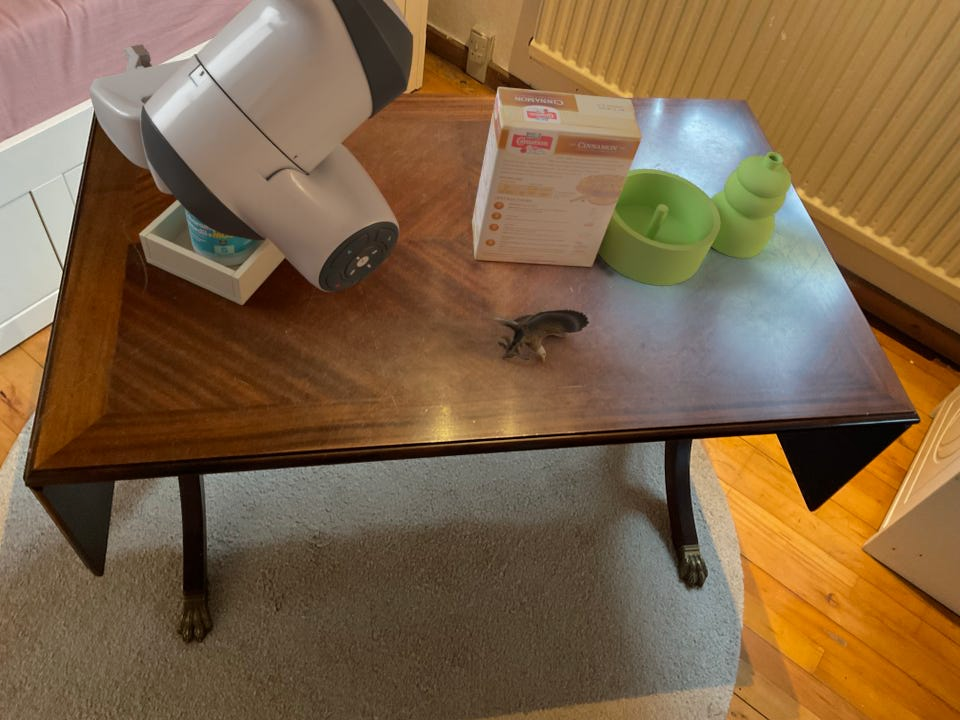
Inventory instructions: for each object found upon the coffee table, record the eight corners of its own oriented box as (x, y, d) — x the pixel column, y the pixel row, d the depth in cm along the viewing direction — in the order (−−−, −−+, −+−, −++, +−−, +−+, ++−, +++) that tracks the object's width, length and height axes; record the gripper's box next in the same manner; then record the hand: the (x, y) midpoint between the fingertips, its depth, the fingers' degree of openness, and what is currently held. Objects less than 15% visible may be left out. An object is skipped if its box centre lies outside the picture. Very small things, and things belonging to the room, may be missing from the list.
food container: (619, 292, 90) (655, 214, 80) (575, 210, 97) (602, 130, 88) (787, 267, 97) (839, 194, 87) (734, 193, 105) (775, 118, 95)
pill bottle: (178, 253, 82) (155, 154, 71) (217, 213, 86) (201, 114, 75) (238, 278, 81) (223, 182, 70) (275, 237, 85) (266, 140, 75)
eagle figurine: (540, 389, 78) (599, 340, 81) (518, 336, 74) (580, 287, 77) (497, 368, 84) (553, 323, 87) (474, 318, 80) (534, 273, 83)
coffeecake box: (584, 228, 96) (632, 97, 80) (593, 269, 91) (645, 138, 76) (470, 220, 93) (496, 83, 78) (473, 261, 89) (502, 124, 74)
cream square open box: (146, 262, 81) (138, 234, 78) (213, 199, 88) (208, 171, 85) (242, 305, 80) (238, 278, 76) (302, 238, 87) (301, 210, 84)
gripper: (375, 69, 61) (296, -13, 67) (123, 132, 52) (56, 30, 58) (372, 133, 66) (298, 51, 72) (142, 200, 57) (78, 100, 63)
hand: (189, 42), depth 65 cm, fingers open, 8 cm apart
